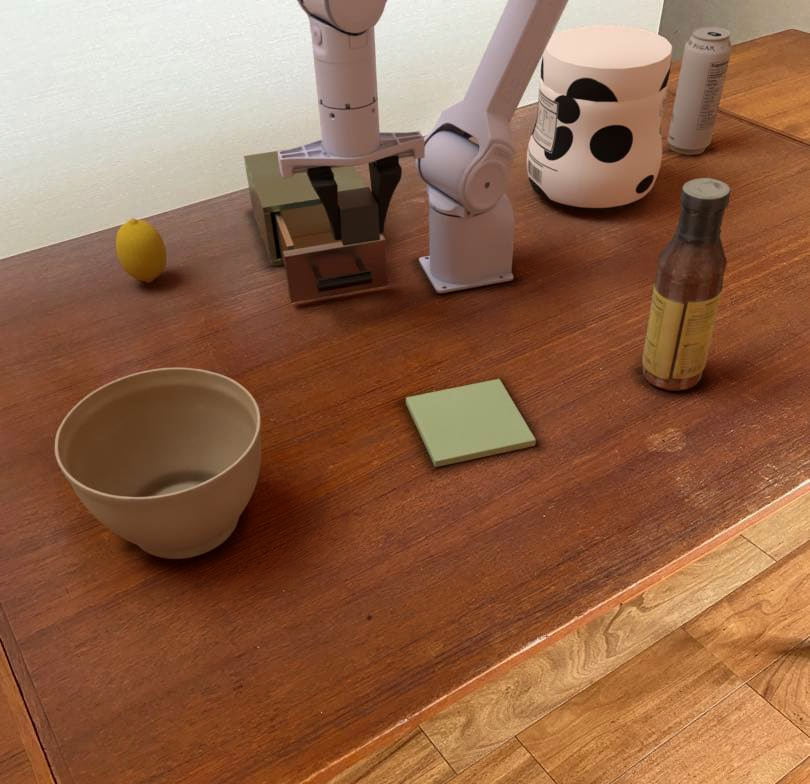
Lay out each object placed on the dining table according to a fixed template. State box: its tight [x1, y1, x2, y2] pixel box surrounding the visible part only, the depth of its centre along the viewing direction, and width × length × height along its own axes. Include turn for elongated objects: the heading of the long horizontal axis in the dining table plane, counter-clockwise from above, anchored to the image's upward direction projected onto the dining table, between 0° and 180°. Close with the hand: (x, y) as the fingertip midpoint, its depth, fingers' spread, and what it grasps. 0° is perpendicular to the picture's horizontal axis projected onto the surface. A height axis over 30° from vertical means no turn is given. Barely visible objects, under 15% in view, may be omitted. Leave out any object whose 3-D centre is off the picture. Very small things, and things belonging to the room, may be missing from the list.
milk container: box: [526, 24, 673, 212], centre depth 110 cm, size 17×17×18 cm
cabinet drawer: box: [272, 204, 388, 303], centre depth 101 cm, size 18×11×6 cm, turn 16°
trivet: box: [405, 378, 537, 468], centre depth 84 cm, size 10×10×1 cm
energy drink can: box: [667, 26, 733, 156], centre depth 120 cm, size 6×6×15 cm
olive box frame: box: [243, 148, 366, 267], centre depth 109 cm, size 15×13×8 cm
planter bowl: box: [54, 367, 262, 560], centre depth 73 cm, size 16×16×11 cm
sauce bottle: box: [641, 177, 731, 392], centre depth 82 cm, size 7×6×20 cm
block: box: [338, 186, 381, 246], centre depth 91 cm, size 4×4×4 cm
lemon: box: [115, 217, 167, 284], centre depth 101 cm, size 6×6×8 cm
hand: (357, 232), depth 92 cm, fingers closed on block, 4 cm apart
